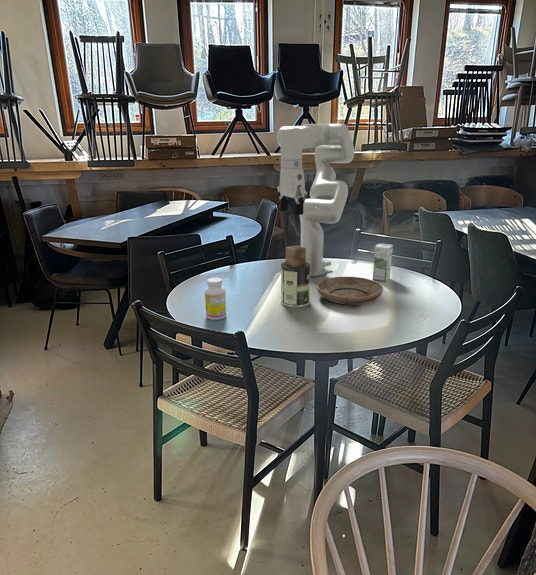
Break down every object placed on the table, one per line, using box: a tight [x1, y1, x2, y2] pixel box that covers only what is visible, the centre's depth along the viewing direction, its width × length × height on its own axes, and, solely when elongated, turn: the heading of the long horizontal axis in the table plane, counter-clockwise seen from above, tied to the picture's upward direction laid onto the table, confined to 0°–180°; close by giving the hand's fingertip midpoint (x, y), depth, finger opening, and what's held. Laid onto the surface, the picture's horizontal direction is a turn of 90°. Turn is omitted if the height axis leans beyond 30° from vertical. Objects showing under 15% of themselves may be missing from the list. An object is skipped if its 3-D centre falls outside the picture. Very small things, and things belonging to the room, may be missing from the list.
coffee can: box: [280, 261, 311, 308], centre depth 152 cm, size 10×10×14 cm
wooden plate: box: [316, 276, 384, 306], centre depth 157 cm, size 23×24×5 cm
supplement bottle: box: [204, 277, 227, 321], centre depth 141 cm, size 7×7×13 cm
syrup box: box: [372, 243, 394, 283], centre depth 176 cm, size 6×6×14 cm
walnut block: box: [285, 245, 306, 267], centre depth 149 cm, size 5×5×6 cm
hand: (291, 212), depth 160 cm, fingers open, 9 cm apart
